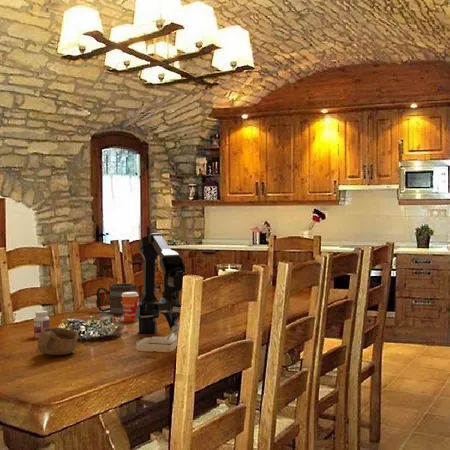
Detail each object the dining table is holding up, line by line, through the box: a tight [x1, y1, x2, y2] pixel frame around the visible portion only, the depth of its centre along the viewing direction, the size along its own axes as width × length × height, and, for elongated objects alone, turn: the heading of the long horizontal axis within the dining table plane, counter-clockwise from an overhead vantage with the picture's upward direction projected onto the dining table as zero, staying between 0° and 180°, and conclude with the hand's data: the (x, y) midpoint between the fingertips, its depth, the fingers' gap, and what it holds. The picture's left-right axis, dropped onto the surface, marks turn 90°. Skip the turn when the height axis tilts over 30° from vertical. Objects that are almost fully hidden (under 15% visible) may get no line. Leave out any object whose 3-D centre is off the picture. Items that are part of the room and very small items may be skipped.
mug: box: [96, 282, 137, 316], centre depth 317 cm, size 20×14×15 cm
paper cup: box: [121, 291, 139, 323], centre depth 294 cm, size 8×8×14 cm
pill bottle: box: [33, 310, 51, 339], centre depth 264 cm, size 6×6×11 cm
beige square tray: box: [135, 336, 177, 353], centre depth 242 cm, size 14×14×3 cm
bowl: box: [37, 327, 80, 356], centre depth 232 cm, size 18×14×10 cm
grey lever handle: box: [164, 322, 180, 345], centre depth 240 cm, size 3×10×6 cm
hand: (172, 330), depth 240 cm, fingers closed
